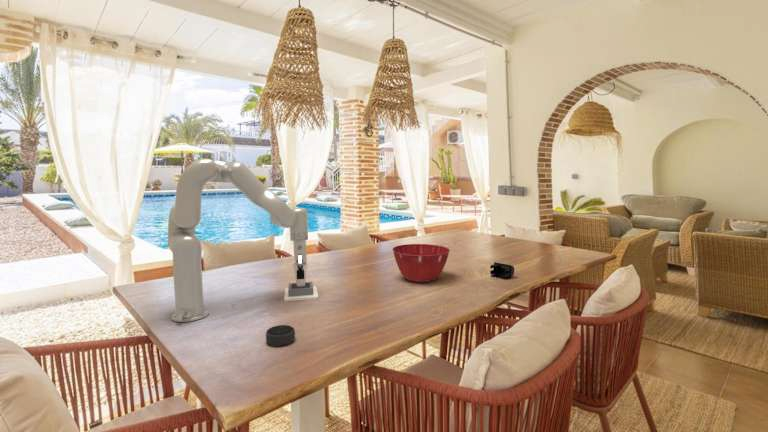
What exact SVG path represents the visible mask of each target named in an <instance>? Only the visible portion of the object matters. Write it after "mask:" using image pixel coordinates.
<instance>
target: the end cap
mask: <svg viewBox="0 0 768 432" xmlns="http://www.w3.org/2000/svg"><path fill="white" fill-rule="evenodd" d="M489 268H490V272H489V273H490V277H492V278H495V277H496V278H495V279H499V278H500V279H501V280H505V281H506V280H509V279H512V277H513V276H514V275H515V267H514V265H513V264H512V265H511V264H506V263H500V262H494V263H492V264H491V265H490V266H489Z"/></svg>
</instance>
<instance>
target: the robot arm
mask: <svg viewBox="0 0 768 432" xmlns="http://www.w3.org/2000/svg"><path fill="white" fill-rule="evenodd" d="M208 182H211V183H228V184H229V183H232V185H233V186H234V187H235V188H236V189H238V190H239V192H241V193H242V195H244V196H245V197H246V198H247V200H249V201H250V203H252V204H254V205H255V206H258V207H260V208H261V209H264V211H266V212H267V213H268V214H269V221H270V222H271V224H273V225H274V226H277V227H281V228H285V229H289V235H290V236H289V237H290V238H289V239H290V241H291V242H293V256H294V263H296V264H297V279H304V267H303V262H305V263H307V261H308V260H307V259H308V258H307V241H308V240H309V229H308V228H309V227H308V226H309V225H308V210H307V209H306V208H304V207H294V208H291V207H290V206H289V205H288V204H287V203H286V202H285V201H284V200H283V199H282V198H281V197H279V196H278V195H277V194H275V192H273V191H272V190H271V189H269V188H268V187H267V186H266V185H265V184H264V183H263V182H262V181H261V180H260V179H259V177H257V175H255V174H254V172H253V171H252V170H250V168H249V167H248V166H247V165H246V164H244V163H243V162H241V161H237V160H236V161H220V160H219V161H217V160H213V159H211V158H200V159H196V160H194V161H193V162H191V164H189V165H188V166H187V167H186V168H185V169H184V170H183V171H182V172H181V174H180V176H179V177H178V180H177V184H176V192H175V200H174V201H175V203H174V205H173V206H172V207H171V208H170V211H169V213H168V222H167V223H168V226H167V227H168V229H167V246H168V248H169V250H170V251H171V253H172V274H173V286H174V287H173V289H174V302H175V312H174V313H172V315H171V321H174V322H177V323H188V322H194V321H198V320H201V319H204V318H206V317H207V316H208V315H209V309H207V308H205V305H204V303H205V301H204V287H203V286H204V285H203V269H202V255H203V254H202V253H203V248H202V243H201V241H200V238H199V237H197V235H196V228H197V227H198V226H199V224H200V222H201V220H202V219H201V218H202V197H203V195H202V194H203V189H204V187H205V185H206V184H207V183H208ZM301 256H302V258H301ZM298 262H299V263H298ZM307 264H308V263H307Z"/></svg>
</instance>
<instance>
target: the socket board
mask: <svg viewBox="0 0 768 432" xmlns="http://www.w3.org/2000/svg"><path fill="white" fill-rule="evenodd" d="M318 299H319V295H318V289H317V286H315V285H314V284H313V281H306V282H305V286H300V287H299V286H297V285H296V282H292V283H290V282H289V283H288V287H286V288H284V297H283V300H284V302H294V301H307V300H318Z"/></svg>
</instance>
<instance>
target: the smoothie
mask: <svg viewBox="0 0 768 432" xmlns="http://www.w3.org/2000/svg"><path fill="white" fill-rule="evenodd" d="M301 258H302V256H301ZM298 263H299V262H298ZM308 265H309V264H308V263H305V262H303V267H304V279H297V264H296V263H295V262H293V263H292V268H293V271H294V278H295V283H296V285H297V286H299V287H300V286H305V282H307V281H306V280H307V268H308V267H309V266H308Z"/></svg>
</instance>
